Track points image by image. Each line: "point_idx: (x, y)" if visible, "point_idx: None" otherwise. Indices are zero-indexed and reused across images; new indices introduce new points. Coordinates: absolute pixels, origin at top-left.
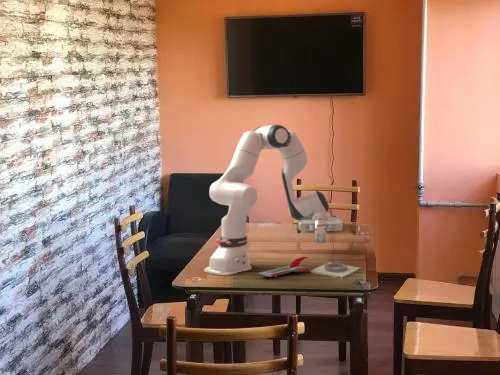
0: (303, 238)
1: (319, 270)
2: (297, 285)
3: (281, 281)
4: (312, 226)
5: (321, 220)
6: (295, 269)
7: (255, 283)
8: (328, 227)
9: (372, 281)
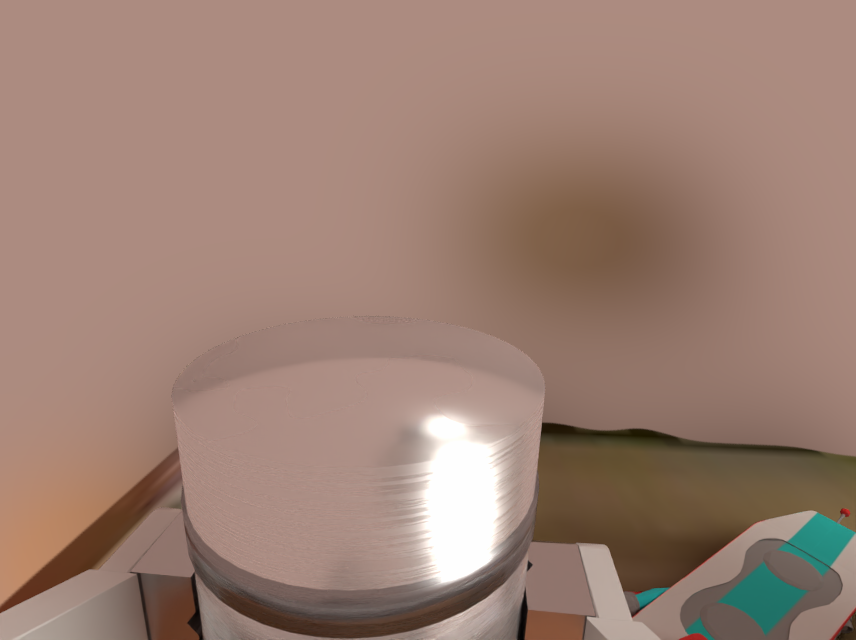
0: None
1: None
2: (553, 463)
3: (663, 511)
4: (603, 613)
5: (339, 348)
6: (630, 595)
7: (794, 493)
8: (167, 511)
9: (133, 487)
